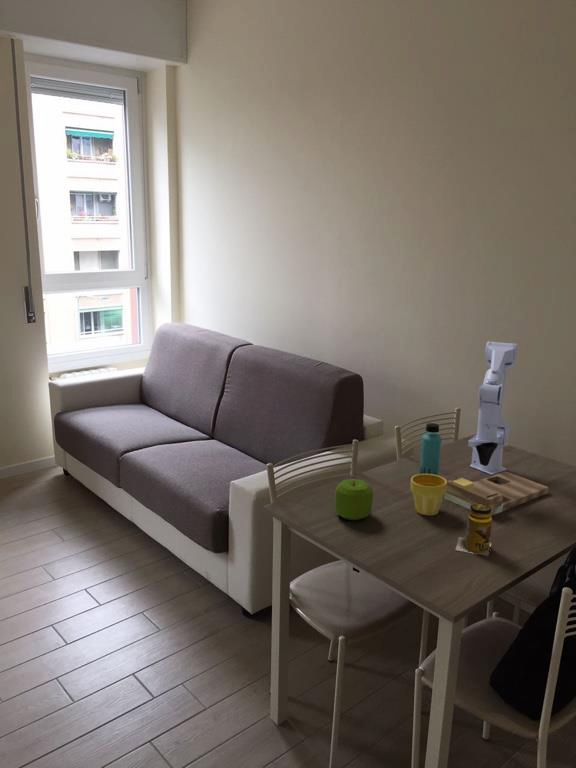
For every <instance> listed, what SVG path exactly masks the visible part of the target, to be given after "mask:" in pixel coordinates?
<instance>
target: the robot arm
mask: <svg viewBox="0 0 576 768" xmlns="http://www.w3.org/2000/svg"><path fill="white" fill-rule="evenodd" d="M485 345H486V346H485V350H484V351H485V353H484V358H485V363H486V366H489V369H487V370H486V372H485V374H484V378H483V382H482V385H480V386H479V390H478V408H479V409H478V420H477V433H476V435H474V436H473V437H472V438H471V439H468V443H467V447H470V448H472V454H471V464H470V465H469V466H470V467H471V468H473V469H475V470H478V471H481V472H484V473H485V474H488V475H490V476H493V475H496V474H498V473H501V472H504V471H507V468H506V467H503V466H502V462H503V453H504V447H506V446H507V445H508V444H509V443H508V442H509V437H510V436H509V435H510V423H509V422H508V421H507V420H506V419H505V418H504V417H503V416H502V415H503V408H504V400H505V391H506V386H507V385H506V383H507V375H508V372H509V370H510V369H514V368H515V367H516V366H517V358H518V352H519V345H518V344H517V343H511V342H509V343H508V342H497V341H490V340H488V341H487V342H486V344H485Z"/></svg>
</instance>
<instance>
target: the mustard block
mask: <svg viewBox="0 0 576 768" xmlns="http://www.w3.org/2000/svg"><path fill="white" fill-rule="evenodd" d="M473 482H474V481H471V480H469V479H466V478H463V477H461V478H460V479H457V480H454V481H452V483H454V484H456V485H459V486H461V487H463V488H466V489H468V490H470V491H473V488H474V483H473Z"/></svg>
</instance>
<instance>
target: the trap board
mask: <svg viewBox="0 0 576 768" xmlns="http://www.w3.org/2000/svg"><path fill="white" fill-rule="evenodd" d="M460 478H462V476H458V477H455V478H451V479H449V480H446V481H447V490H446V494H445V495H443V499H445V500H448V501H450V502H452V503H454V504H457V505H458V506H461V507H463V508H465V509H467V510H469V511H470V506H471V505H472V504H473V503H484V504H487V505H489V506H490V507H491V517H493V516H494V515H497V514H499V513H503V512H505V511H507V510H509V509H512V508H514V507H516V506H519V505H522V504H524V503H527V502H529V501H532V500H535V499H537V498H539V497H542V496H545V495H547V494H549V486H547V485H544V484H542V483H538V482H536V481H533V480H531V479H529V478H525V477H522V476H520V475H518V474H514V473H512V472H509V471H507V470H505V471H502V472H499V473H496V474H493V475H490V476H486V477H484V478H481V479H479V480H476V481H472V482H473V483H474V488H473V491H470V490H468V489H466V488H463V487H461V486H459V485H456V484H454V483H452V481H454V480H457V479H460Z"/></svg>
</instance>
